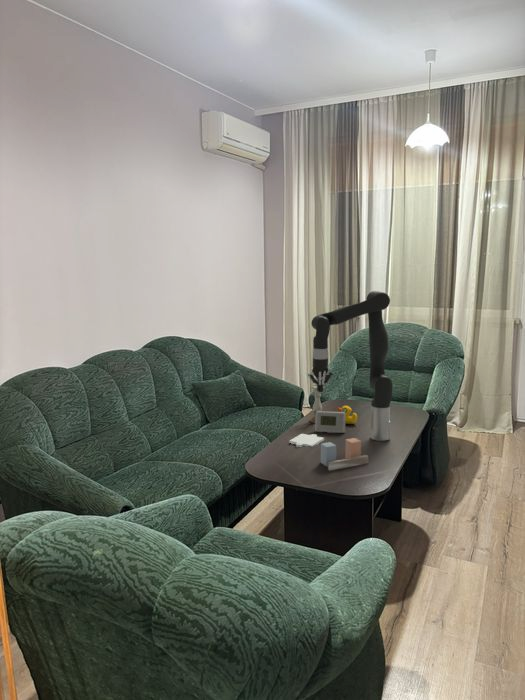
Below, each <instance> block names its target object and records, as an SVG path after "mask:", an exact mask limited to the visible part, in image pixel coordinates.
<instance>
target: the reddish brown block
mask: <svg viewBox="0 0 525 700" xmlns="http://www.w3.org/2000/svg"><path fill="white" fill-rule="evenodd" d="M344 453H345V457H344V459H348V458H353V457H358V456H362V455H361V454H362V441H361V440H360V439H358V438H356V437H352V438H347V439H345V452H344Z"/></svg>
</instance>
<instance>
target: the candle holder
mask: <svg viewBox="0 0 525 700" xmlns="http://www.w3.org/2000/svg"><path fill="white" fill-rule="evenodd" d="M310 389H312V390H313V391H314V395H313V396H314V402H313V405H312V410H313V412H312V413H313V414H314V415H313V416H311V417H310V418H309V422H310V423H313V424H315V415H316V412H317V411H322V410H323V405H322V403H321V396H322V394H321V392H318V391H317V384H313V385H311V386H310ZM324 389H325V386H324V385H323V390H324Z"/></svg>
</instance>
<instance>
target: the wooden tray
mask: <svg viewBox="0 0 525 700" xmlns="http://www.w3.org/2000/svg"><path fill="white" fill-rule="evenodd" d="M366 464H369V455H367V454H364V455H361V456H358V457H353V458H348V459H346V458H343V459H338V460H337V459H336V461H332V462H328V466H327V471H330V472H331V471H335V470H339V469H340V470H341V469H345V468H351V467H355V466H360V465H366Z"/></svg>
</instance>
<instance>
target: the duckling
mask: <svg viewBox="0 0 525 700" xmlns="http://www.w3.org/2000/svg"><path fill="white" fill-rule="evenodd" d="M337 412H344V413H345V414H346V418H345V425H346V424H348V425H350V424H351V425H352V424H355V423H356V422H357V421H358V414H357V413H356V412H353V410H352V408H351V407H350V406H349V405H343V406H342V407H339V406H338V407H337ZM352 412H353V413H352ZM351 413H352V415H351V416H350V414H351Z"/></svg>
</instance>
